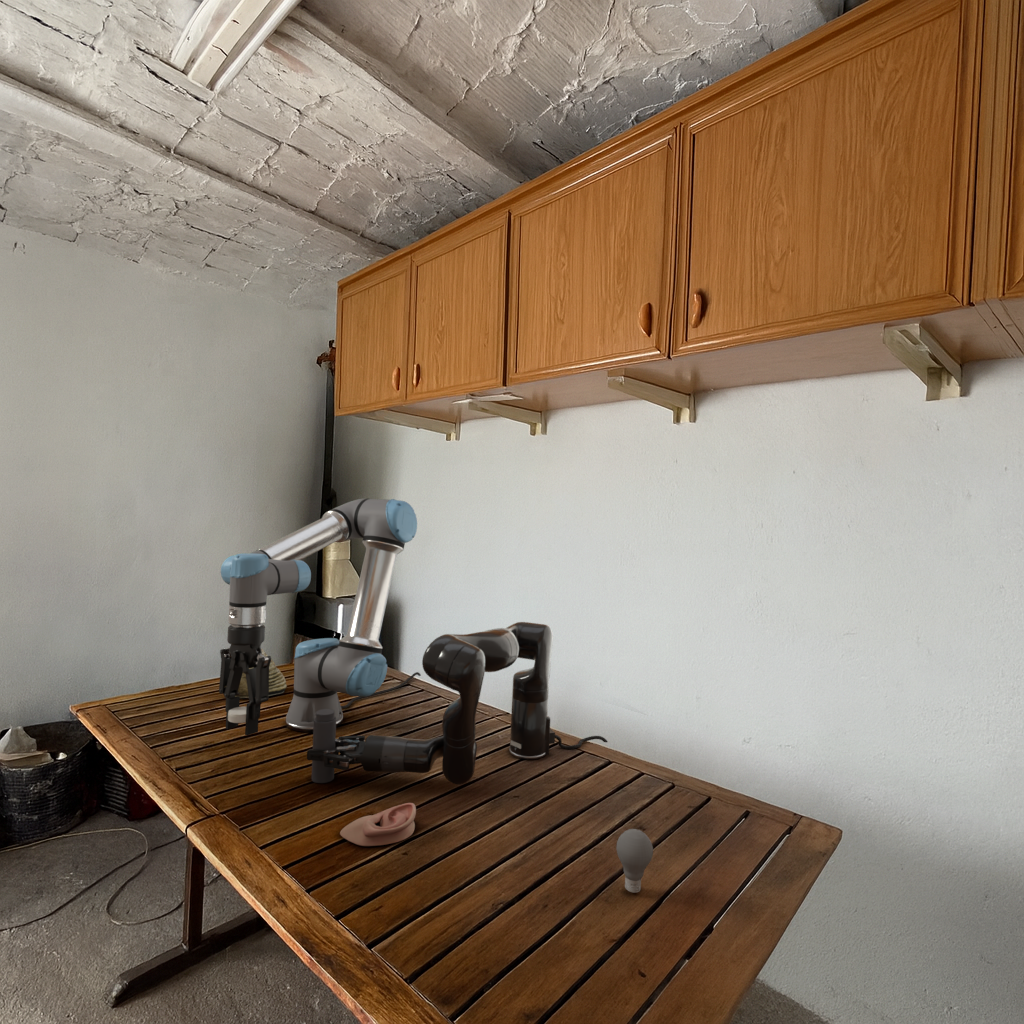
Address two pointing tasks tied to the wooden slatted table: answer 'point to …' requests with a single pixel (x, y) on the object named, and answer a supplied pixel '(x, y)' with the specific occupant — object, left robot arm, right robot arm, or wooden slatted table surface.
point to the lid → (237, 715)
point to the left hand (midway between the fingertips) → (241, 730)
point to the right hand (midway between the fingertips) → (312, 749)
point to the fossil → (275, 681)
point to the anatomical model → (382, 826)
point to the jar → (323, 743)
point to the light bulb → (634, 857)
